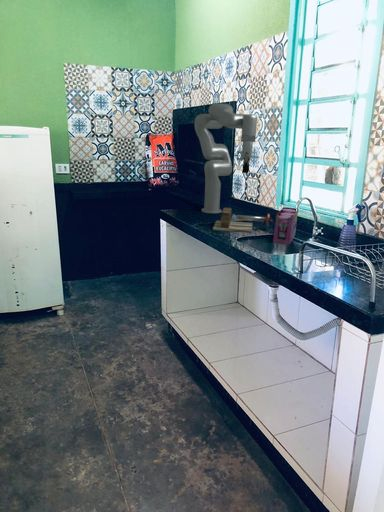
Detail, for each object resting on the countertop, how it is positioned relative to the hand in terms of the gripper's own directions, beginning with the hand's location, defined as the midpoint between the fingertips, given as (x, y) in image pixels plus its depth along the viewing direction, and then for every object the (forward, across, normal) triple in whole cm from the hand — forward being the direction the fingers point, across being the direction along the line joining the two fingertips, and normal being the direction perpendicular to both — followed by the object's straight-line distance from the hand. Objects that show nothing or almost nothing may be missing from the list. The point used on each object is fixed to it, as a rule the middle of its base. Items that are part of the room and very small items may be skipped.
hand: (245, 171), depth 220 cm
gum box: (+29, +27, +22) cm, 45 cm away
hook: (+26, +12, +7) cm, 29 cm away
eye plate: (+28, +12, -4) cm, 31 cm away
